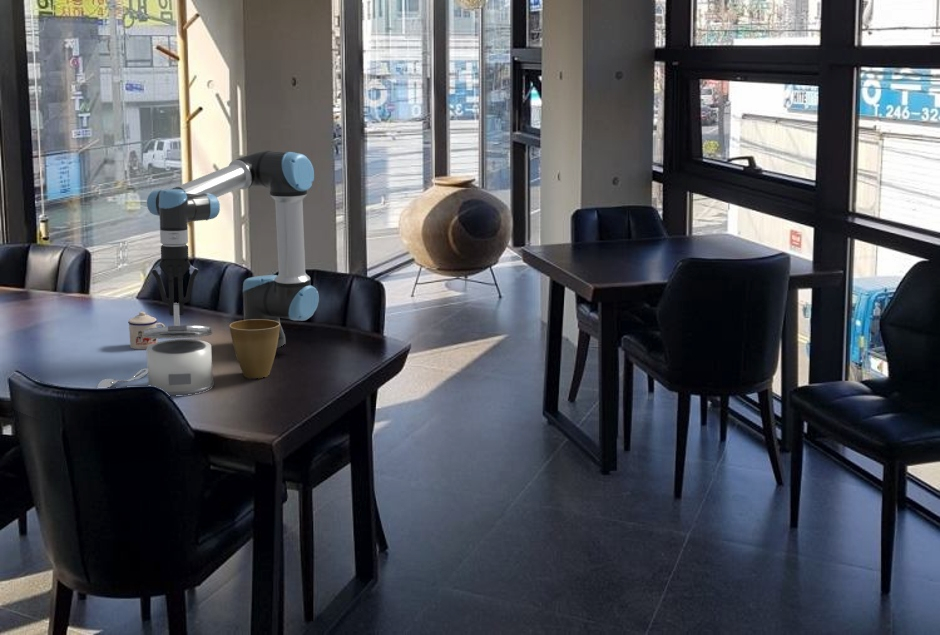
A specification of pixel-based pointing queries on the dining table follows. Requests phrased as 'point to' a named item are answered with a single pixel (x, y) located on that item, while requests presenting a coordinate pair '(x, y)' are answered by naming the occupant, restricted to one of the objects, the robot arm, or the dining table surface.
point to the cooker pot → (180, 366)
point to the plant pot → (255, 345)
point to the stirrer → (112, 381)
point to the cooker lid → (177, 332)
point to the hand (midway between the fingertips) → (177, 326)
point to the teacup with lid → (141, 330)
